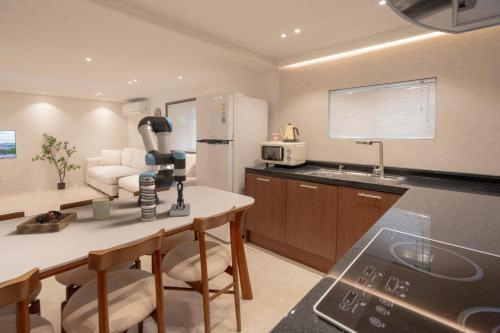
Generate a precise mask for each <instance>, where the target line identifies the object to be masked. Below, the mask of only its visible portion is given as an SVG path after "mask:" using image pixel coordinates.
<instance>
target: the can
mask: <svg viewBox="0 0 500 333" xmlns="http://www.w3.org/2000/svg"><path fill="white" fill-rule="evenodd" d="M91 202H92V220H94V221H104V220H107V219H110V218H111V211H110V210H111V209H110V198H109V197H105V196H104V197H96V198H92V200H91Z"/></svg>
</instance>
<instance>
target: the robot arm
mask: <svg viewBox="0 0 500 333" xmlns="http://www.w3.org/2000/svg"><path fill="white" fill-rule="evenodd" d="M137 131H138V133H139V135H141V139H142V142H143V146H144V149H145V151H146V154H145V157H144V162H145V165H146V166H153V167H154V166H159V168H158V170H157V172H156V171H155V170H152V171H144V172H141V173H139V175H138V189H139V190H138V192H139V193H138V197H137V201H136V205H137V206H138V207H141V205H142V201H141V198H140V196H141V195H140V193H141V192H140V187H141V181H140V180H142V178H144V177H152V178H153V179H155V180H154V185H155V186H156V187H154V189H156V191H155V192H156V193H155V195H156V197H155V198H156V199H155V204H156V206H158V205H159V204H160V198H159V196H158V193H157V190H160V189H161V190H162V189H171V188H174V187H176V190H177V198H178V201H177V200H176V203H177V202H178V209H183V203H182V198H184V194H183V191H184V182H186V181H187V176H186V175H187V171H188V170H187V164H186V163H187V162H186V161H187V156H186V151H184V150H174V151H173V152H171V145H170V136H171V135H172V134H171V133H172V132H173V122H172V119H171V118H170V117H168V116H154V115H153V116H152V115H146V116H144V117H142V118H141V119H140V120H139V122H138V124H137ZM153 133H154V134H153ZM154 136H155V137H156V140H155V137H154ZM156 141H157V142H156ZM172 165H173V166H172Z"/></svg>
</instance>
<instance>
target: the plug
mask: <svg viewBox="0 0 500 333" xmlns="http://www.w3.org/2000/svg"><path fill="white" fill-rule="evenodd" d="M177 201H178V197H177V199H176V204H177V209H178V202H177ZM182 203H183V209H184V204H185V197H183V198H182Z"/></svg>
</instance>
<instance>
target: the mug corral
mask: <svg viewBox="0 0 500 333" xmlns="http://www.w3.org/2000/svg"><path fill="white" fill-rule="evenodd" d="M46 213H47V212H46ZM46 213H39V214H37V215H35V216H34V217H31V218H29V219H27V220H25V221H24V222H22V223H19V224H18V225H16V233H17V234H18V235H19V234H36V233H35V232H41V233H55V232H56V233H57V232H58V231H59V232H60V231H61V232H62V230H64V229H65V228H66V226H67V227H68V226H69V225H70V223H71V224H72V223H74V222H75V221H76V220H77V219H78V212H77V211H73V212H70V211H69V212H60V213H61V214H62V220H61V221H60V222H58V223H54V221H53V220H51V219H50V221H49V222H51V221H53V222H51V223H43V224H40V223H38V222H37V221H36V217H37V216H40V215H42V216H43V215H44V214H46ZM50 215H51V216H54V217H55V219H57V217H60V216H59V214H54V213H51V214H50ZM39 220H41V219H39Z"/></svg>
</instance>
